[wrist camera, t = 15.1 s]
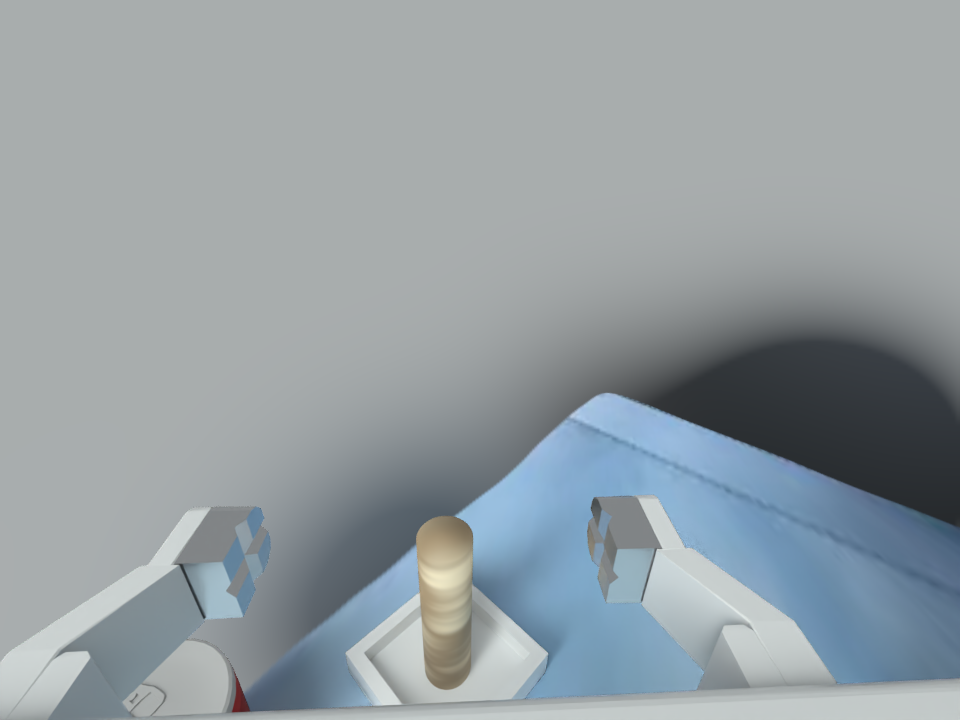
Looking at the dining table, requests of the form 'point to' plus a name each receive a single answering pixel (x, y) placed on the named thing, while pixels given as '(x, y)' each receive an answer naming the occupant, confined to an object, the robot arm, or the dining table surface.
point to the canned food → (189, 684)
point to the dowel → (446, 599)
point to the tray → (401, 671)
